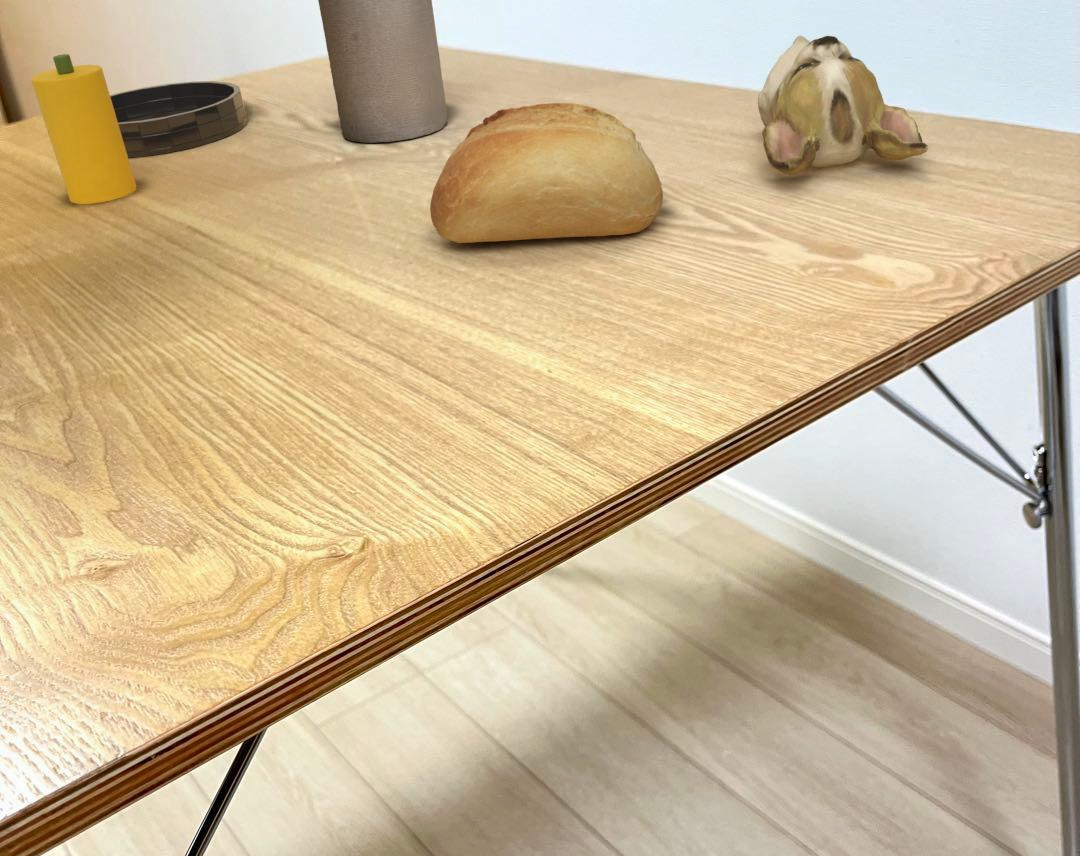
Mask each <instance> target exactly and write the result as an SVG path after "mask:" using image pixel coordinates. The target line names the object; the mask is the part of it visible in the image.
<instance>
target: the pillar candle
mask: <svg viewBox="0 0 1080 856" xmlns="http://www.w3.org/2000/svg"><path fill="white" fill-rule="evenodd" d="M317 1H318V7H319V11H320V17H321V23H322V28H323V29H322V30H323V33H324V38H325V45H326V51H327V56H328V61H329V67H330V73H331V79H332V85H333V90H334V95H335V101H336V106H337V107H336V108H337V113H338V118H339V122H340V123H339V124H340V129H341V134H342V137H343V138H344V139H346V140H347V141H351V142H354V143H356V142H359V143H363V144H364V143H366V144H371V143H375V144H377V143H390V142H396V141H397V142H398V141H399V142H400V141H405V140H412V139H415V138H416V139H417V138H420V137H422V136H427V135H430V134H433V133H435V132H439V131H441V130H442V129H443V128H444V126H445V125H446V123H447V121H448V111H447V104H446V97H445V95H446V94H445V89H444V82H443V81H444V80H443V75H442V67H441V57H440V51H439V44H438V38H437V30H436V23H435V15H434V7H433V0H317Z"/></svg>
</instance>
